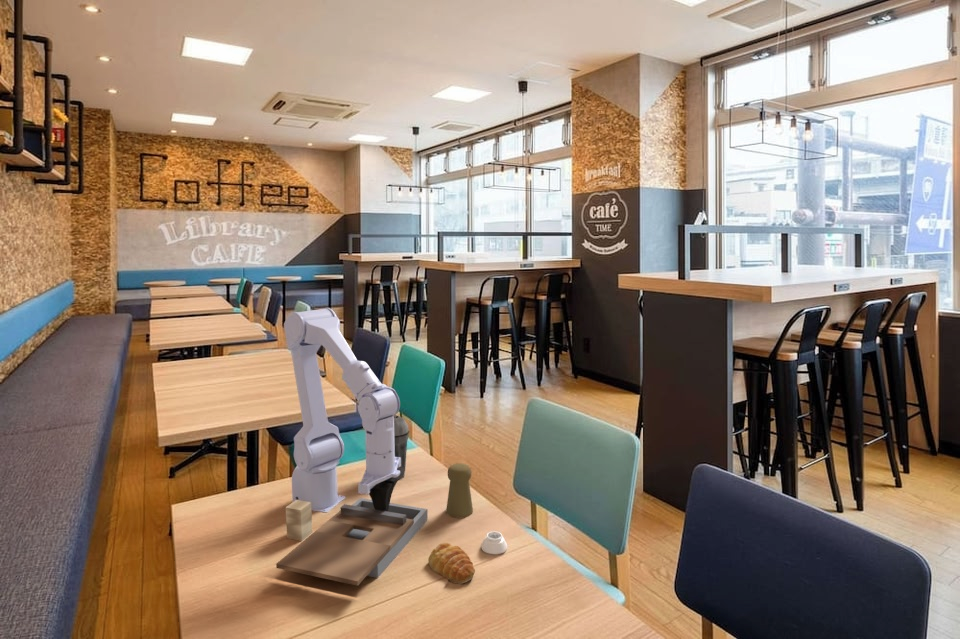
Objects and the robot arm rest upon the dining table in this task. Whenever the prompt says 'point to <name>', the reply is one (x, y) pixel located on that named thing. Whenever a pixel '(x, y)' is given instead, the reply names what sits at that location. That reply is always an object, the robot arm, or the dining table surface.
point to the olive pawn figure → (459, 491)
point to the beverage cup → (401, 442)
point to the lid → (347, 545)
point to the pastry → (451, 563)
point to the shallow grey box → (419, 520)
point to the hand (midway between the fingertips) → (381, 513)
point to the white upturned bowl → (494, 543)
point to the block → (299, 520)
